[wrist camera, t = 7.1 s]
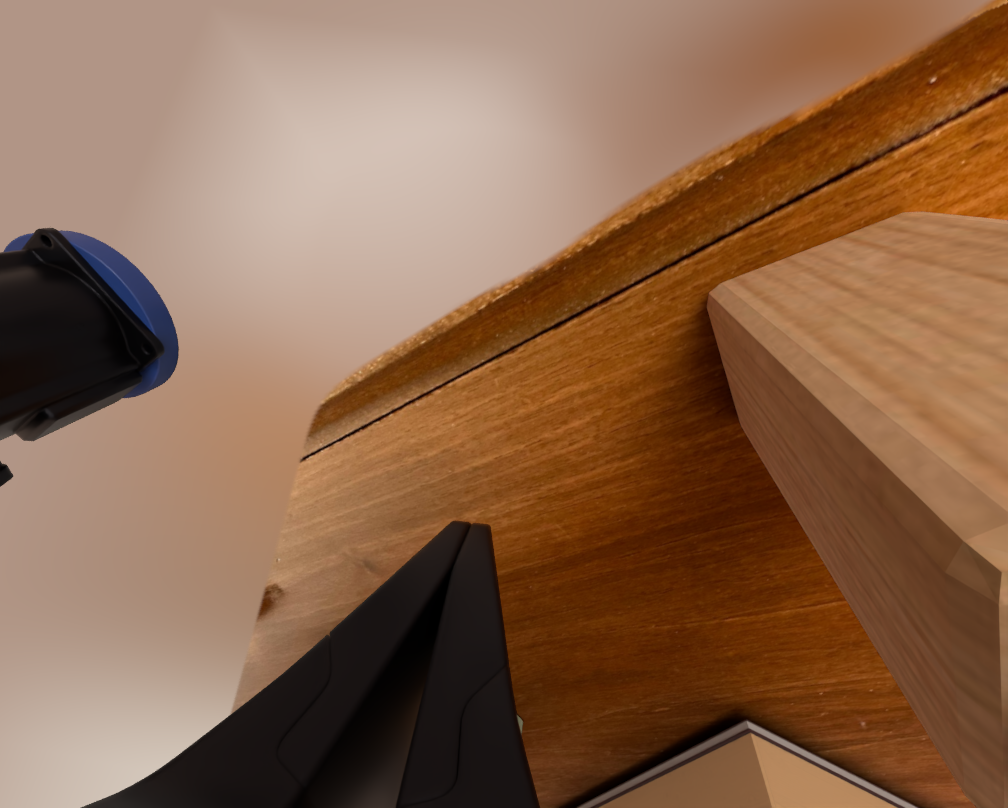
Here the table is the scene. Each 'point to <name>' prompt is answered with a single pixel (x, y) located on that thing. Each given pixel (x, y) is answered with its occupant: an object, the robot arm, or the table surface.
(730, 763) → the book
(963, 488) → the decorative item
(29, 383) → the robot arm
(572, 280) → the table surface
